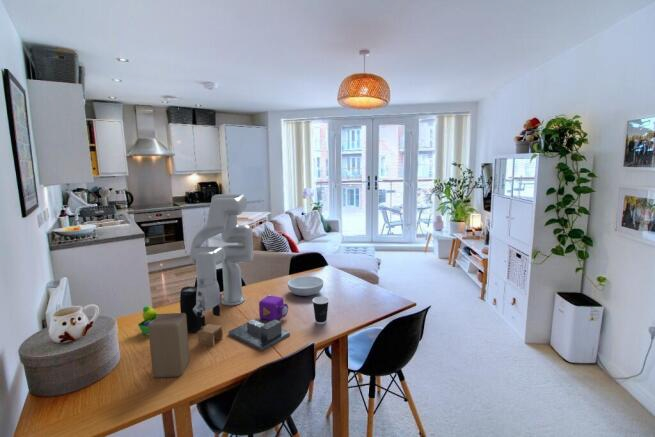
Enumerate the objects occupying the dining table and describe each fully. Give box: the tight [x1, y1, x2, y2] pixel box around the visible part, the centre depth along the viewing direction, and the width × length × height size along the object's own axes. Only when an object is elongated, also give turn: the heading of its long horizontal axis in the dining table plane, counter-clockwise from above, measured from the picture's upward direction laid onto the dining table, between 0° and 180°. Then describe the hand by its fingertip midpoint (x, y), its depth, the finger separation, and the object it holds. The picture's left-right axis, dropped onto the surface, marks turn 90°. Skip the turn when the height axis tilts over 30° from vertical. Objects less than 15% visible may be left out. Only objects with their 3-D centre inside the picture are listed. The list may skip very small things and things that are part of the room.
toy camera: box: [258, 294, 289, 322], centre depth 161 cm, size 11×14×10 cm
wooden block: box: [148, 312, 191, 378], centre depth 119 cm, size 10×10×20 cm
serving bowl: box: [287, 275, 325, 297], centre depth 193 cm, size 21×21×7 cm
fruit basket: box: [137, 305, 160, 335], centre depth 150 cm, size 11×9×11 cm
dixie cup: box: [312, 296, 330, 325], centre depth 156 cm, size 8×8×11 cm
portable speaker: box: [179, 285, 203, 334], centre depth 149 cm, size 9×9×20 cm
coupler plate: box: [228, 318, 291, 352], centre depth 145 cm, size 22×16×8 cm
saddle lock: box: [197, 323, 224, 348], centre depth 140 cm, size 7×6×6 cm
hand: (209, 320), depth 138 cm, fingers open, 9 cm apart
